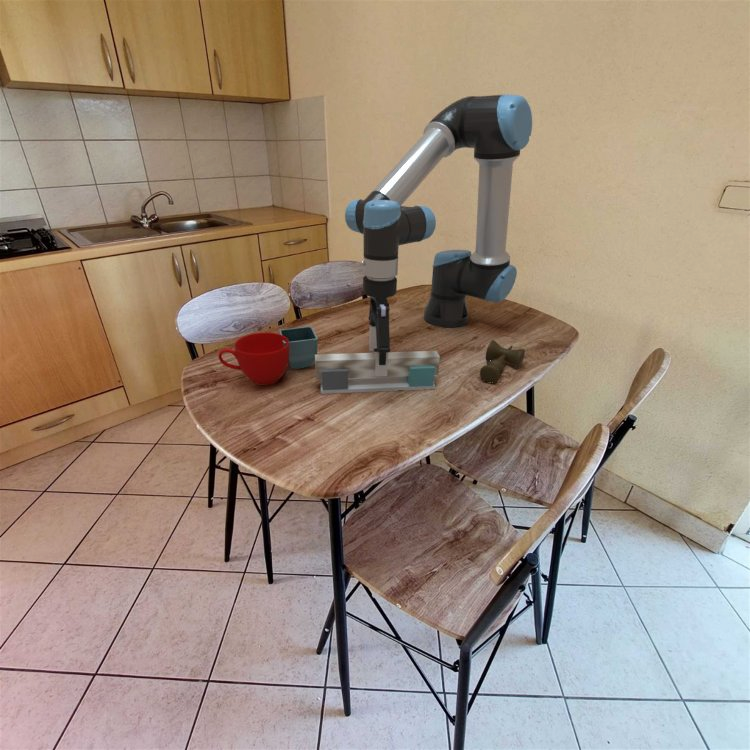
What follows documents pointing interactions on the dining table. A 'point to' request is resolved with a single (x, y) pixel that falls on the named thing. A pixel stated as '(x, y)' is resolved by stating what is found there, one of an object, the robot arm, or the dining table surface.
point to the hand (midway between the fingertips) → (377, 362)
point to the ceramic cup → (260, 357)
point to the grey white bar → (365, 363)
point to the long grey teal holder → (376, 381)
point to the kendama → (499, 361)
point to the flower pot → (301, 346)
